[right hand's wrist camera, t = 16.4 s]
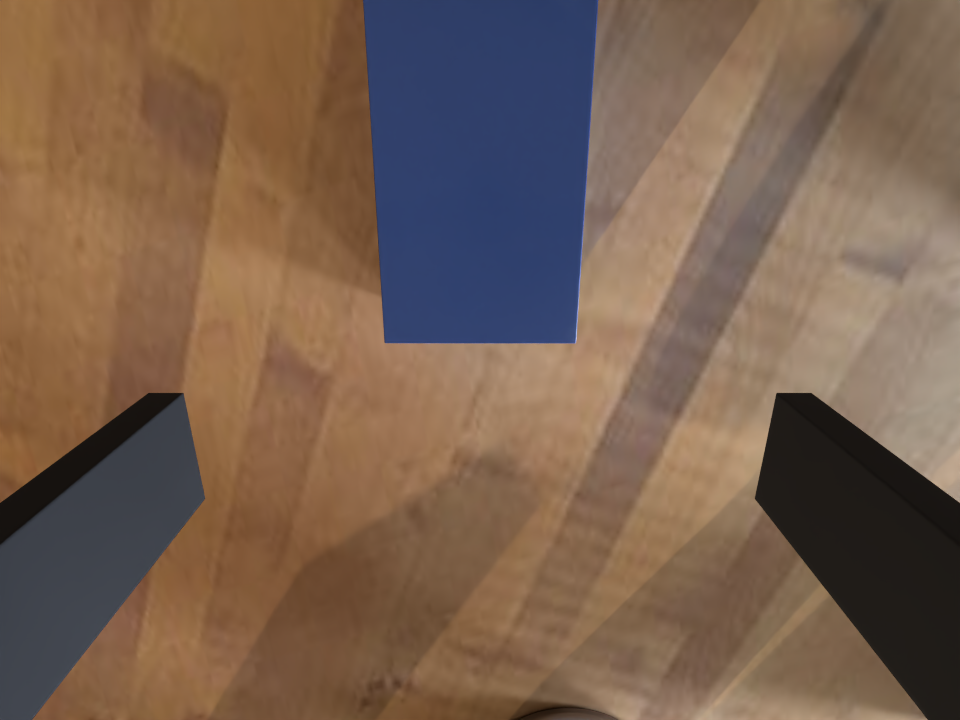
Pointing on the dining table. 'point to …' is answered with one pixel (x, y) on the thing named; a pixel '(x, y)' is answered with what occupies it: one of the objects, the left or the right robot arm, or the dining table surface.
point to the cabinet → (480, 165)
